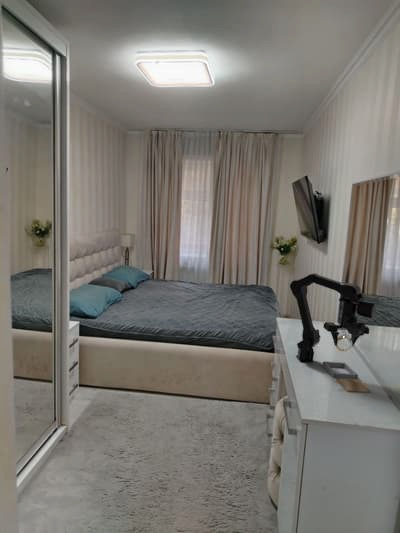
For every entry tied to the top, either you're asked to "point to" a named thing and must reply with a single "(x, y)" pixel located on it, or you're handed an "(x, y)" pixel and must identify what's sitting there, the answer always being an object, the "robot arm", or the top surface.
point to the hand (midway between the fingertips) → (343, 346)
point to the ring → (343, 338)
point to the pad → (353, 385)
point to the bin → (340, 375)
